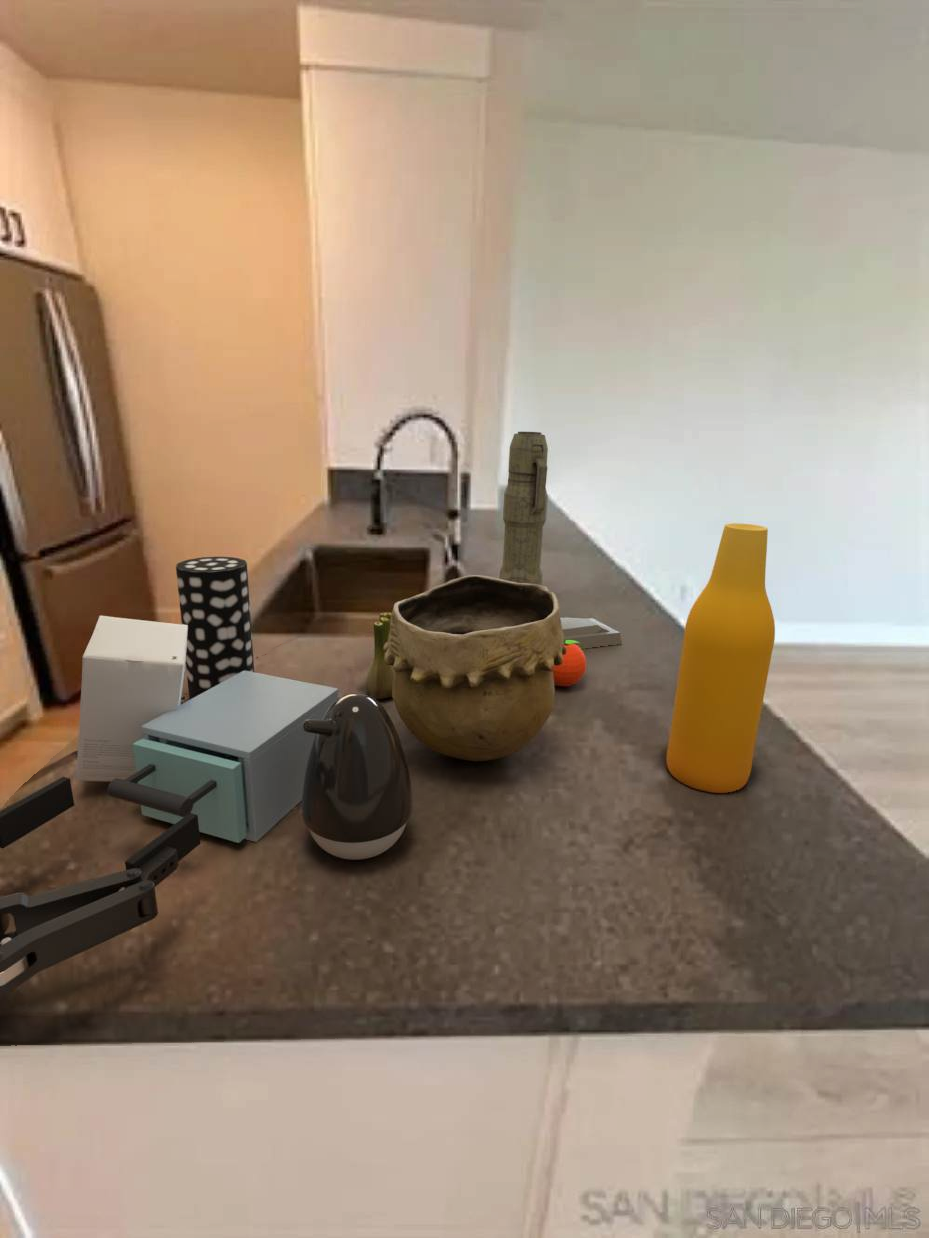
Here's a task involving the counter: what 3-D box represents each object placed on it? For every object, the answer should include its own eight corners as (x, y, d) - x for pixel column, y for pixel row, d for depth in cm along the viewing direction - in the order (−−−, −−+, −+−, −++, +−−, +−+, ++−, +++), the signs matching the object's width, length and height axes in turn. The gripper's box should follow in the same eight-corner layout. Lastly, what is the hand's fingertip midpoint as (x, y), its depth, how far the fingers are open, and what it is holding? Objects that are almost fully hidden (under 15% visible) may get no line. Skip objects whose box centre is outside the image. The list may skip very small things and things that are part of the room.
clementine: (568, 671, 107) (572, 629, 105) (598, 687, 102) (603, 642, 99) (528, 680, 103) (531, 637, 101) (558, 697, 97) (562, 651, 95)
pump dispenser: (281, 839, 64) (272, 693, 59) (369, 799, 71) (367, 665, 66) (343, 895, 57) (338, 734, 53) (433, 843, 64) (437, 698, 60)
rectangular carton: (176, 734, 79) (191, 623, 74) (169, 785, 72) (186, 664, 66) (89, 729, 76) (98, 612, 70) (72, 781, 68) (81, 655, 63)
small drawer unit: (256, 842, 64) (249, 752, 61) (151, 812, 68) (140, 726, 65) (340, 764, 78) (338, 688, 75) (249, 743, 82) (244, 670, 79)
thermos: (519, 613, 136) (531, 433, 125) (486, 598, 145) (494, 430, 135) (553, 607, 141) (567, 434, 130) (518, 593, 150) (528, 430, 139)
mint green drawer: (202, 875, 58) (194, 796, 55) (100, 843, 61) (89, 767, 59) (322, 768, 75) (320, 704, 73) (237, 748, 79) (233, 686, 76)
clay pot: (477, 823, 68) (485, 636, 61) (348, 747, 81) (344, 588, 75) (592, 753, 82) (609, 596, 76) (466, 699, 96) (471, 562, 90)
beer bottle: (746, 762, 81) (790, 523, 72) (750, 802, 73) (799, 538, 64) (667, 747, 84) (700, 516, 75) (662, 784, 76) (698, 529, 67)
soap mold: (622, 644, 120) (624, 625, 119) (522, 656, 113) (523, 636, 112) (590, 626, 129) (592, 609, 128) (496, 637, 122) (497, 618, 121)
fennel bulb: (381, 706, 93) (380, 623, 89) (355, 696, 95) (354, 616, 92) (409, 693, 97) (409, 614, 93) (384, 684, 100) (384, 607, 96)
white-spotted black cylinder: (239, 727, 85) (227, 574, 79) (178, 720, 87) (161, 569, 80) (267, 700, 93) (258, 559, 87) (211, 694, 94) (198, 554, 88)
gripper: (-284, 992, 43) (28, 813, 62) (-2, 1147, 34) (257, 885, 53) (-322, 895, 40) (14, 739, 59) (-30, 1036, 32) (251, 803, 51)
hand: (130, 808), depth 56 cm, fingers open, 13 cm apart
